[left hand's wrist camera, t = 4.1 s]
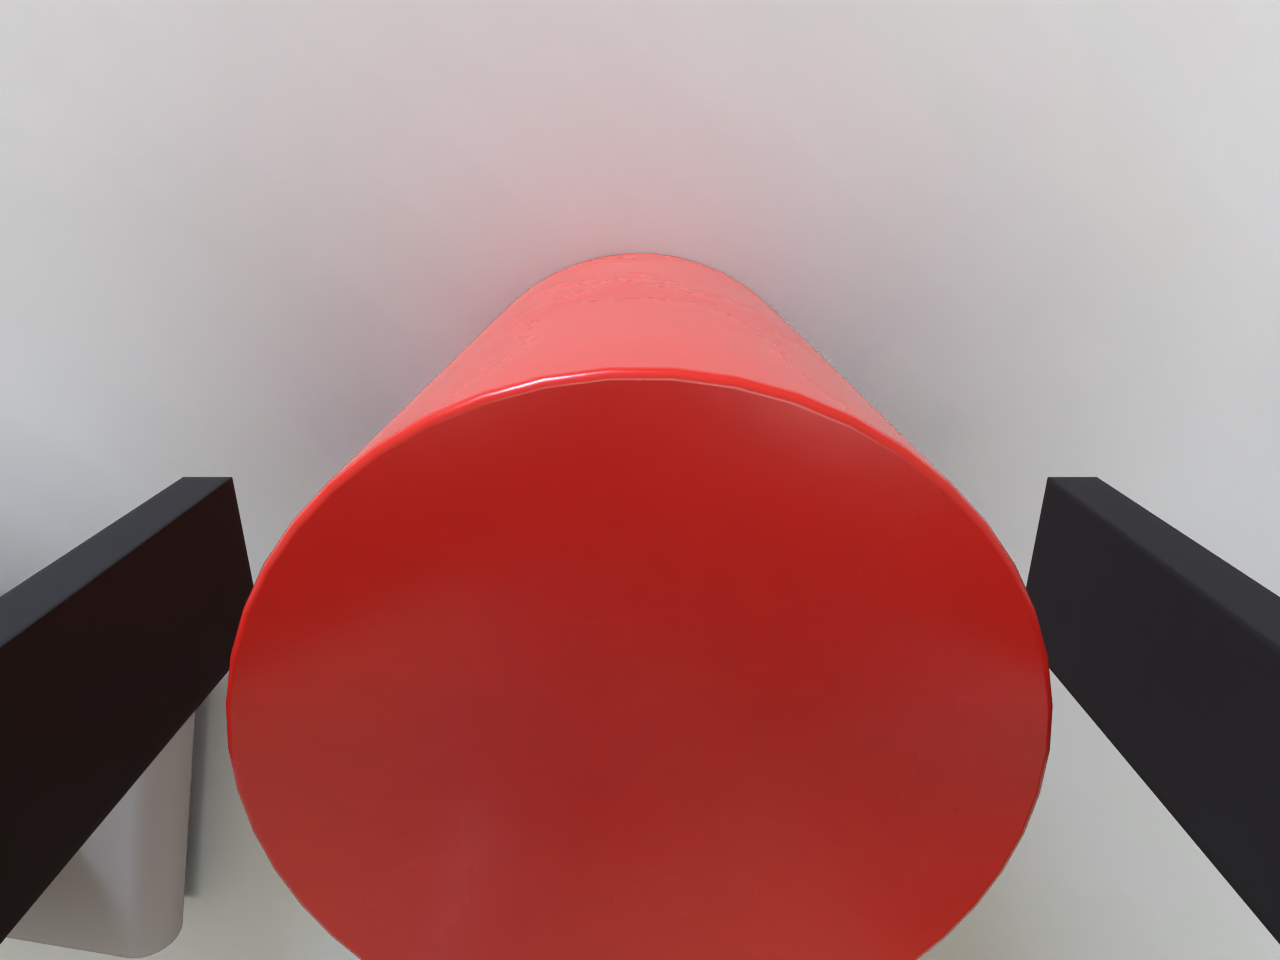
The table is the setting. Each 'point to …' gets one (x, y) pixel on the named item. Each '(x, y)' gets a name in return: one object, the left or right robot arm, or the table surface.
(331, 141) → the table surface
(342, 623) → the canister
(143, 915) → the phone stand
